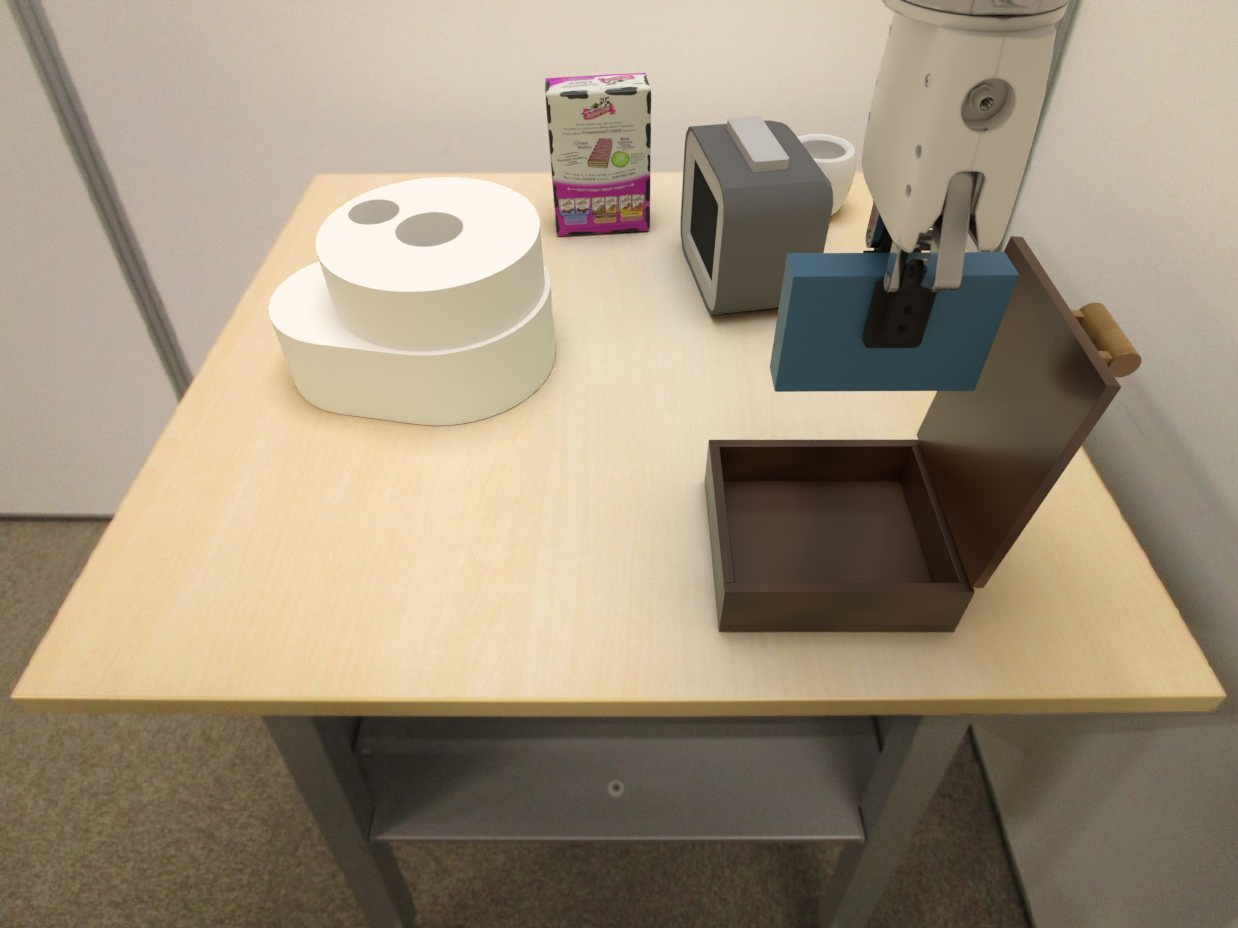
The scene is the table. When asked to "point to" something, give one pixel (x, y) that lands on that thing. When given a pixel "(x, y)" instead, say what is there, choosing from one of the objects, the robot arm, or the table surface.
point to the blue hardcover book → (836, 317)
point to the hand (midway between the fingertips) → (884, 326)
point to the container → (421, 305)
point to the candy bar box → (600, 152)
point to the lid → (1021, 414)
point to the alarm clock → (749, 210)
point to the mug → (833, 162)
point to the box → (830, 538)
